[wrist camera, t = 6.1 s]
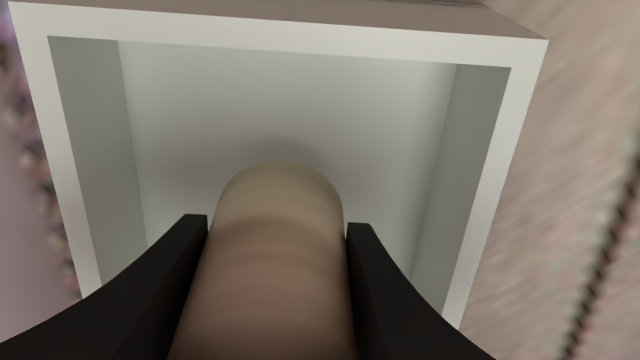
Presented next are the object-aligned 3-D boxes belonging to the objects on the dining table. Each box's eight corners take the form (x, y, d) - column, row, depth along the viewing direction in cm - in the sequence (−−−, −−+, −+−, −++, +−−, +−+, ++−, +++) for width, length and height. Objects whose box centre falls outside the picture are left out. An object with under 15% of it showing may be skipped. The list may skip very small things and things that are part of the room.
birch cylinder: (336, 266, 16) (346, 439, 11) (219, 259, 16) (172, 433, 10) (349, 164, 14) (370, 317, 9) (215, 155, 14) (155, 306, 8)
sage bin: (416, 286, 21) (442, 380, 17) (144, 273, 21) (100, 368, 16) (482, 4, 15) (549, 39, 11) (98, -25, 15) (7, 0, 10)
